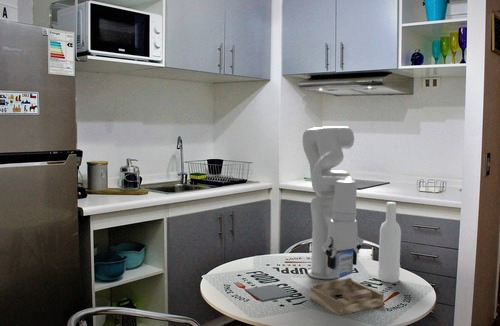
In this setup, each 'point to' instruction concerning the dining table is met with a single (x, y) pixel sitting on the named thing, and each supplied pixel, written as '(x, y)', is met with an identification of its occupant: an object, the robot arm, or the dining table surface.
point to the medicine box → (342, 264)
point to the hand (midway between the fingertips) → (342, 265)
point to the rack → (327, 289)
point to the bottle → (389, 246)
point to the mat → (268, 292)
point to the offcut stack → (356, 297)
